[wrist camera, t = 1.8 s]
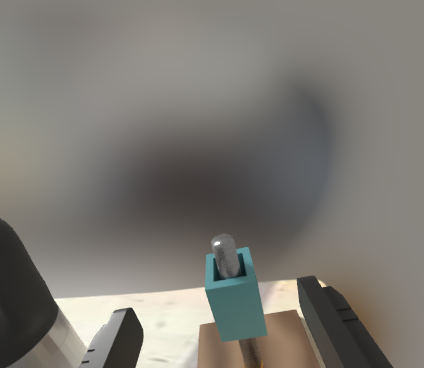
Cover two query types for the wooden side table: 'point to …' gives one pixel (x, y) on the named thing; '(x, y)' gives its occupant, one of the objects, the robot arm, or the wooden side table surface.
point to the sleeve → (235, 300)
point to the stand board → (260, 345)
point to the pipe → (228, 270)
